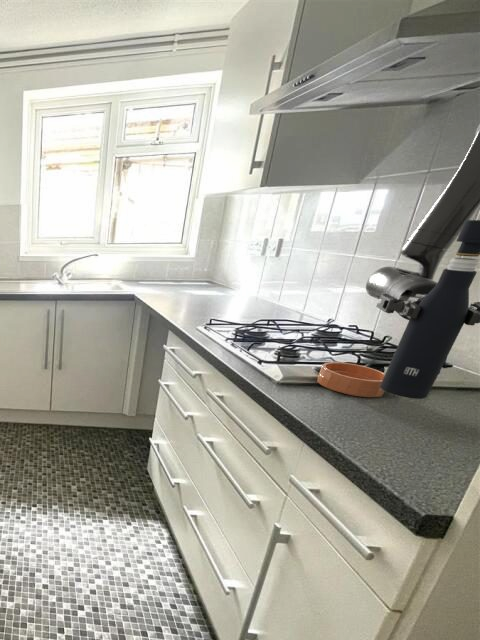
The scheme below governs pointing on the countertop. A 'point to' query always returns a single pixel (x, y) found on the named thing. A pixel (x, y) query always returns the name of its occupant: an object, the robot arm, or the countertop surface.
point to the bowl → (351, 379)
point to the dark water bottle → (435, 323)
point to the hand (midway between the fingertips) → (444, 316)
